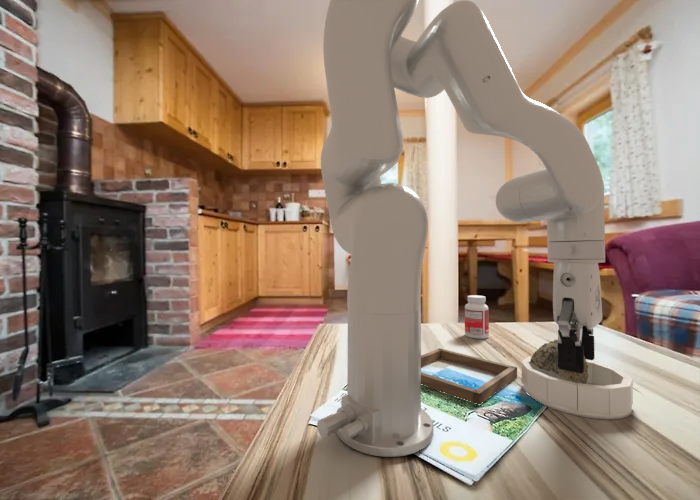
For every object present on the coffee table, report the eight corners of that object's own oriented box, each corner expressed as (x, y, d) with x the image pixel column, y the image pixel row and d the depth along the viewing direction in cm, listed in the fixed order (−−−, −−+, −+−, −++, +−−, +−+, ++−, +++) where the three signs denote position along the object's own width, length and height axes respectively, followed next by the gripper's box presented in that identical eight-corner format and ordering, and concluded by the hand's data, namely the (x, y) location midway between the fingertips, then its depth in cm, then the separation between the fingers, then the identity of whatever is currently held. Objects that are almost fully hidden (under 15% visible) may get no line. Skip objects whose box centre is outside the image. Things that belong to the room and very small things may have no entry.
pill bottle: (479, 333, 91) (479, 294, 91) (493, 338, 85) (493, 297, 85) (460, 334, 90) (460, 295, 90) (473, 339, 84) (473, 298, 84)
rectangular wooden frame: (479, 405, 47) (479, 393, 47) (394, 375, 59) (394, 366, 59) (517, 377, 58) (517, 367, 58) (439, 356, 70) (439, 348, 70)
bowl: (626, 431, 41) (625, 397, 41) (510, 395, 51) (510, 368, 51) (636, 397, 50) (635, 370, 50) (537, 373, 60) (537, 350, 60)
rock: (596, 382, 51) (606, 358, 50) (572, 391, 47) (583, 364, 46) (551, 358, 57) (559, 335, 56) (527, 363, 53) (535, 339, 52)
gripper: (593, 253, 42) (596, 387, 42) (613, 252, 54) (615, 356, 54) (531, 254, 47) (533, 372, 47) (561, 252, 59) (563, 347, 59)
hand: (576, 363), depth 50 cm, fingers closed on rock, 7 cm apart
